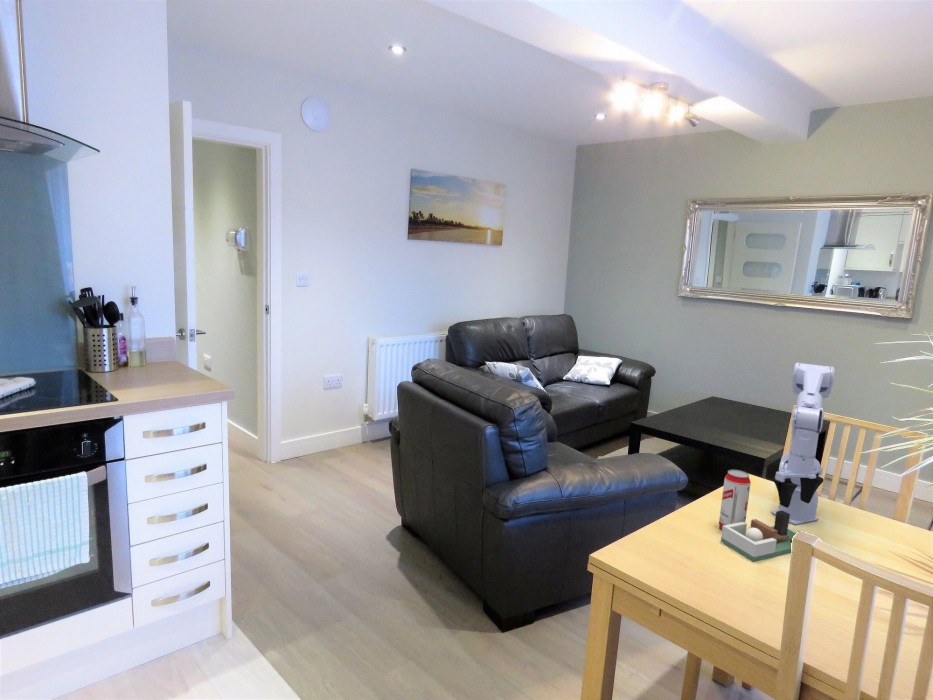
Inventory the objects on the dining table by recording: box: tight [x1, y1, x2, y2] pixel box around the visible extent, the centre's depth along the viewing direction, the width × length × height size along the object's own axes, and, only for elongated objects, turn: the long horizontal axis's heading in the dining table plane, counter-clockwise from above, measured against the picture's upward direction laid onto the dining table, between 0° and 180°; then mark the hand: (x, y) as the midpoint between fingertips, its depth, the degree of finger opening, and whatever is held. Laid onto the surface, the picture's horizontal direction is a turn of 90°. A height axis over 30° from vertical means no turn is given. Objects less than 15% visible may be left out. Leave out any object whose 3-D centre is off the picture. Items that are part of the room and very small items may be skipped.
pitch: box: [720, 522, 796, 562], centre depth 146 cm, size 21×10×4 cm, turn 113°
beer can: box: [718, 469, 752, 528], centre depth 152 cm, size 6×6×16 cm
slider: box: [749, 510, 790, 542], centre depth 146 cm, size 8×6×6 cm
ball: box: [745, 527, 763, 542], centre depth 144 cm, size 4×4×4 cm
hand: (794, 503), depth 147 cm, fingers open, 7 cm apart
